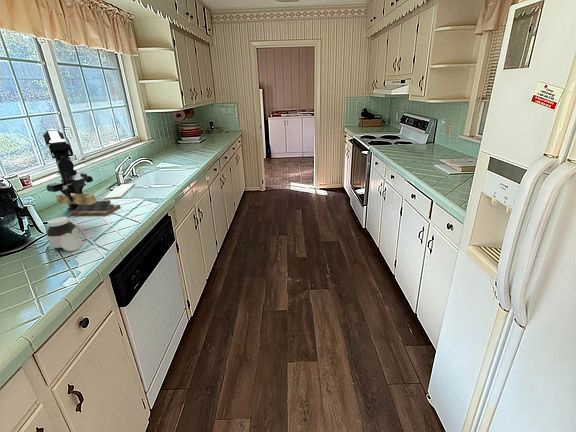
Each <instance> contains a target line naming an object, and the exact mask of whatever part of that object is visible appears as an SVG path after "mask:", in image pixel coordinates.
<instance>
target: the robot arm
mask: <svg viewBox="0 0 576 432" xmlns="http://www.w3.org/2000/svg"><path fill="white" fill-rule="evenodd" d="M42 137H43V140H44V142H45V146H47V147H48V149H49V152H50V155H51V158H52V160H54V159H55V162H56V166H57V169H58V171H57V174H59V175H60V178H61V180H60V183H59V182H58V183H57V182H52V183H50V184H47V185H46V190H47V192H52V193H57V192H60V193H63V194H64V195H65V196H66V197H67V198H68V199H69V200H70V201H71V202H73V199H72V196H71V194H70V193H74V194H84V193H83V189H84V187H85V186H86V185H87V183H91V182H92V183H93V182H94V179H93V178H94V177H92V176H91V175H88V173H86V172H81V173H78V171H77V170H76V169H74V167H75V164H74V163H73V161H72V160H71V157H73V155H74V152H73V148H72V146H71V144H70V143H68V142H67V141H66V138H65V135H64V133H63V132H60V130H59V129H58V128H54V129H53V128H51V129H47V130H45V133H44V134H43V135H42ZM67 205H68V207H67V208H66V209H67V210H77V209H76V208H77V207H78V205H77V204H68V203H67Z"/></svg>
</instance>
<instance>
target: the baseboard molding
mask: <svg viewBox="0 0 576 432" xmlns="http://www.w3.org/2000/svg"><path fill="white" fill-rule="evenodd" d="M118 185H120V186H118ZM118 185H117V186H116V187H115V188H114V189H113V190H111V191H110V192H109V193H108V194H106V195H105V196H104V197H103V198H102V199H101V200H113V199H121V198H122V197H123V196H124V195H126V194H127V193H128V192H129V190H131V189H132V188H133V187H134V186H135V185H136V183H135V182H129V183H128V181H124V183H118Z"/></svg>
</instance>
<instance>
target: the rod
mask: <svg viewBox="0 0 576 432" xmlns="http://www.w3.org/2000/svg"><path fill="white" fill-rule="evenodd" d="M70 194H71V196H72V199H73V202H71V201H70V200H69V199H68V198H67V197H66V196H65V195H64V194H63V193H62V192H60V193H58V194H55V195H54V197H55V199H56V201H57V203H58V204H67V205H68V204H84V205H91V204H94V203H96V200H97V199H96V196H95V194H94V193H93V194H92V193H91V194H90V193H83V194H74V193H70Z"/></svg>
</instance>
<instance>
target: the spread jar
mask: <svg viewBox="0 0 576 432" xmlns="http://www.w3.org/2000/svg"><path fill="white" fill-rule="evenodd" d="M47 224H48V228H47V230H46V237H47V241H48V243H49V245H50V247H51V248H52V249H54V250H57V251H67V252H73V251H76V250H78V249H80V247H81V244H82V240H81V237H80V234H79V231H78V229H77V226H76V225H75V223H73V222H71V221H70V219H69V216H60V217H54V218H52V219H50V220H48V221H47Z"/></svg>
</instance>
